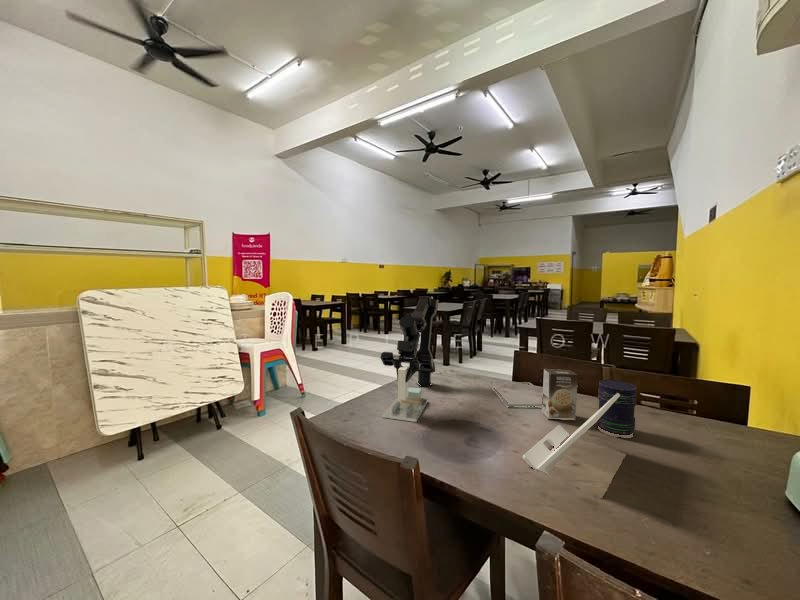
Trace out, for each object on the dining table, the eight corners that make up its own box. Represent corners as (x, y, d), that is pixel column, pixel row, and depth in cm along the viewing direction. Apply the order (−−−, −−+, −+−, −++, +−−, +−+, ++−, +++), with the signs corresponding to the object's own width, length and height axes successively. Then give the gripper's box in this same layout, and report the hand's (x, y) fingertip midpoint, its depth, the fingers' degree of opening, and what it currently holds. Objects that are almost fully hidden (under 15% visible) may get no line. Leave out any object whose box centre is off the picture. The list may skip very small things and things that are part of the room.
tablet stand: (626, 456, 86) (629, 394, 85) (602, 500, 68) (606, 423, 67) (556, 433, 99) (558, 379, 98) (521, 465, 81) (523, 400, 80)
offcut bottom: (404, 396, 126) (404, 391, 126) (421, 398, 124) (421, 393, 124) (400, 401, 121) (400, 396, 121) (418, 403, 119) (418, 398, 119)
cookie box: (547, 420, 107) (549, 373, 106) (541, 412, 114) (542, 368, 113) (576, 421, 106) (578, 374, 105) (568, 413, 113) (569, 369, 112)
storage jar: (597, 434, 98) (599, 386, 97) (595, 421, 106) (597, 378, 105) (637, 442, 93) (640, 392, 92) (631, 428, 102) (633, 382, 101)
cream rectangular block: (401, 394, 114) (401, 366, 113) (408, 395, 113) (408, 366, 113) (397, 399, 110) (398, 369, 109) (404, 400, 109) (405, 370, 108)
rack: (398, 398, 127) (398, 390, 127) (427, 401, 124) (428, 393, 123) (382, 417, 109) (382, 408, 109) (416, 422, 105) (416, 413, 105)
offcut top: (404, 391, 126) (404, 386, 125) (421, 393, 124) (421, 388, 123) (400, 396, 121) (400, 390, 121) (418, 398, 119) (418, 392, 119)
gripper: (382, 330, 117) (370, 367, 107) (432, 332, 111) (425, 372, 101) (389, 346, 125) (379, 383, 115) (436, 350, 119) (429, 388, 109)
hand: (402, 381), depth 110 cm, fingers closed on cream rectangular block, 2 cm apart
